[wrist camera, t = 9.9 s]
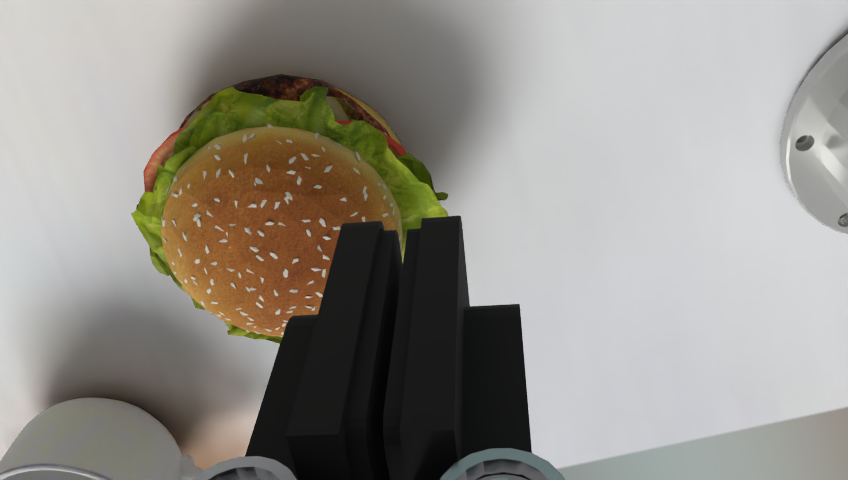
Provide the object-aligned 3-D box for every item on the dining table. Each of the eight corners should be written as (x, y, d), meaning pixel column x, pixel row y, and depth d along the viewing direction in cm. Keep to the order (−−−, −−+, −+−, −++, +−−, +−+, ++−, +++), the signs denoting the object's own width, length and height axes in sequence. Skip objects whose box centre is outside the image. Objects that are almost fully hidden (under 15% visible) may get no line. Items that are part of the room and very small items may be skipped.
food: (305, 329, 46) (284, 434, 39) (113, 166, 39) (50, 257, 33) (494, 205, 41) (507, 301, 34) (309, -4, 35) (281, 64, 28)
